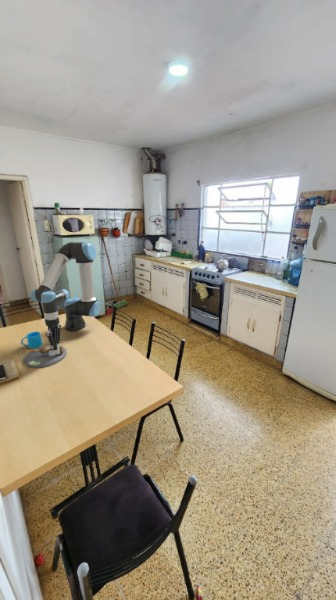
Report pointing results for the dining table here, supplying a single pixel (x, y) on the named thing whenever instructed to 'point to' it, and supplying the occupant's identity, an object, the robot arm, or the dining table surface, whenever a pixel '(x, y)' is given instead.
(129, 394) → the dining table surface
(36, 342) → the mug
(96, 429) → the dining table surface
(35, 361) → the dial plate
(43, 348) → the dial arm
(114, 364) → the dining table surface
